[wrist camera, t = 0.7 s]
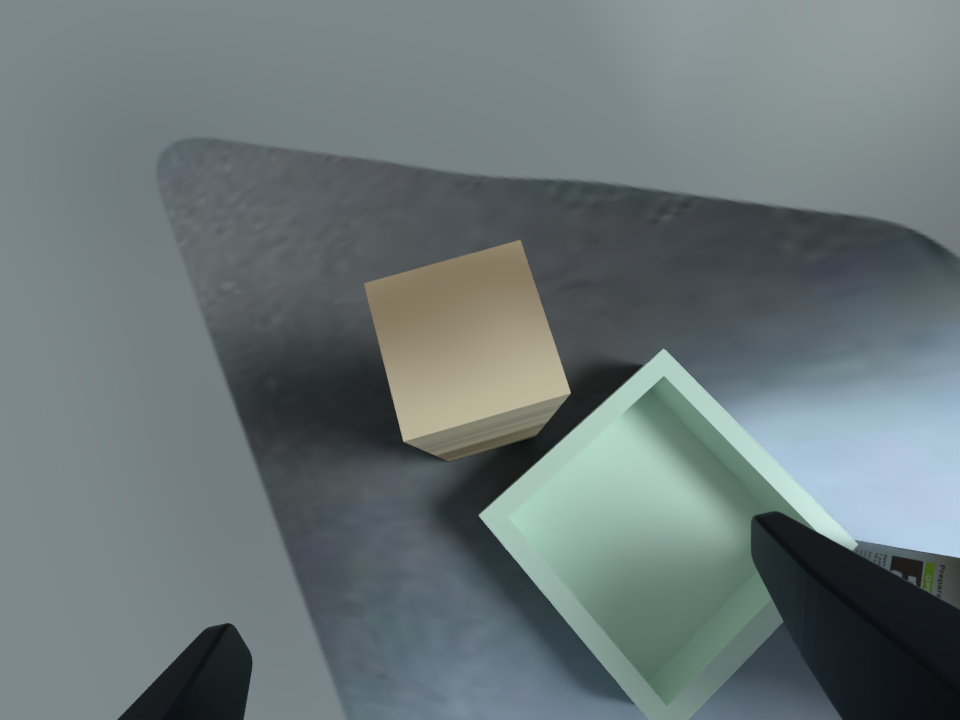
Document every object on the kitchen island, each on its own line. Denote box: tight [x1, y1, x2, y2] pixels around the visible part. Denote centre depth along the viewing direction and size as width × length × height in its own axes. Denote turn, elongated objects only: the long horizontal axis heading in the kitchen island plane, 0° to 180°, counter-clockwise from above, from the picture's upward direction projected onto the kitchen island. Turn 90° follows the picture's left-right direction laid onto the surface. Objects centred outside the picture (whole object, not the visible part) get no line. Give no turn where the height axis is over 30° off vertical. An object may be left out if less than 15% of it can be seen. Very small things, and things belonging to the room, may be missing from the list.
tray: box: [479, 349, 858, 720], centre depth 21 cm, size 10×10×3 cm
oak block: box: [364, 240, 571, 462], centre depth 18 cm, size 4×4×12 cm
